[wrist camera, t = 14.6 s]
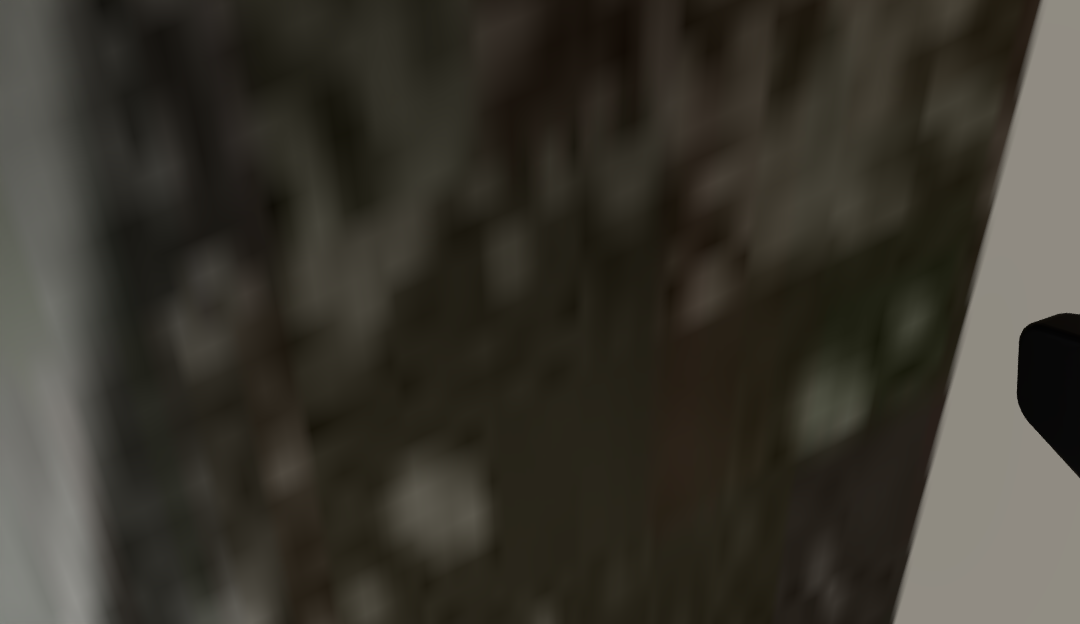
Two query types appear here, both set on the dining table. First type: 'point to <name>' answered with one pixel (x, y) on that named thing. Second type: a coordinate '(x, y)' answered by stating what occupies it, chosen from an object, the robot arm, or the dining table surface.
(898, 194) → the dining table surface
